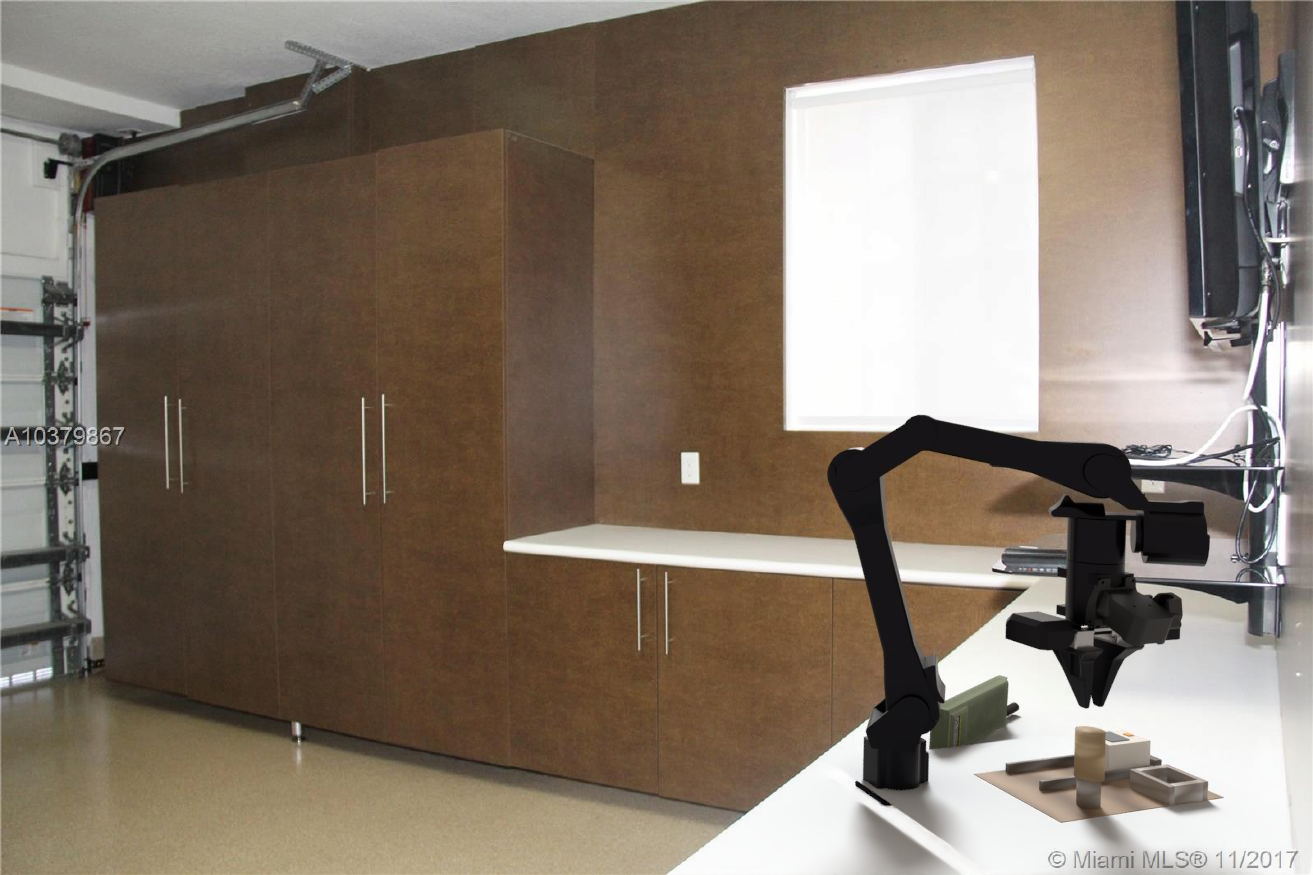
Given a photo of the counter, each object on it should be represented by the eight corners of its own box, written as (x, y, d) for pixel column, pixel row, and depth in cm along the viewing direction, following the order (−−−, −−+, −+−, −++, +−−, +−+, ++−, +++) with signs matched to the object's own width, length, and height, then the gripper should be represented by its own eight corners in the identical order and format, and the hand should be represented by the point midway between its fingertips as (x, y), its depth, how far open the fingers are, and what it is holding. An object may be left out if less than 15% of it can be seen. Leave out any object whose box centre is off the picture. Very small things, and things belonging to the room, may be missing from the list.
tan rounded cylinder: (1087, 812, 104) (1089, 736, 104) (1066, 801, 107) (1068, 727, 106) (1110, 808, 105) (1112, 733, 105) (1089, 798, 108) (1091, 725, 107)
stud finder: (1108, 775, 114) (1109, 744, 114) (1079, 762, 118) (1080, 732, 118) (1149, 770, 116) (1150, 739, 116) (1119, 757, 120) (1119, 727, 120)
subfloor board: (1060, 836, 101) (1061, 802, 101) (973, 786, 114) (974, 756, 114) (1223, 810, 109) (1224, 779, 109) (1123, 766, 122) (1124, 738, 122)
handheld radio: (923, 756, 125) (1002, 712, 144) (948, 764, 123) (1025, 718, 142) (926, 704, 125) (1005, 667, 144) (951, 711, 123) (1028, 672, 141)
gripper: (1082, 577, 95) (1078, 739, 95) (1227, 569, 101) (1222, 721, 101) (1003, 559, 105) (999, 706, 105) (1139, 553, 111) (1135, 691, 112)
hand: (1091, 706), depth 106 cm, fingers closed
